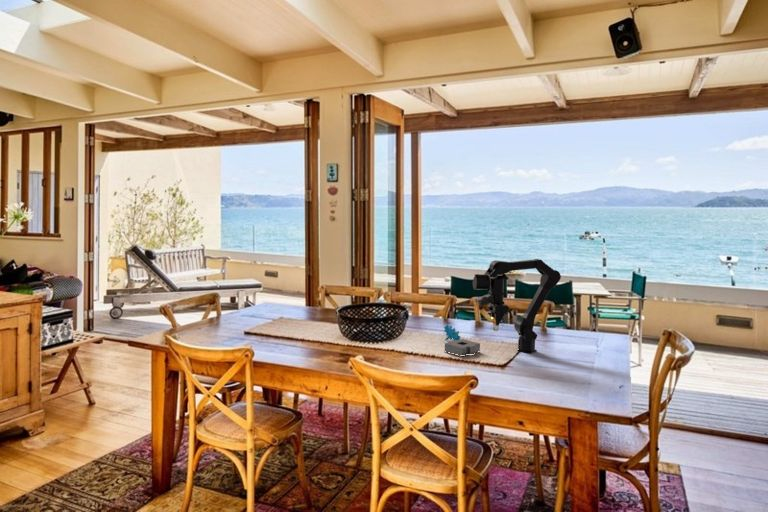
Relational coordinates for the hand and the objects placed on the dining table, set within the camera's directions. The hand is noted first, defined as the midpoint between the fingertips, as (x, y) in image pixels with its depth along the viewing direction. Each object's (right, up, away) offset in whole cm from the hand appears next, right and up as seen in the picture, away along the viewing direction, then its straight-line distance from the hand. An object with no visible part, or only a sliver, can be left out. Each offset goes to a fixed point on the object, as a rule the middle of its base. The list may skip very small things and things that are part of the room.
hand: (495, 324), depth 217 cm
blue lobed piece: (-16, -11, +19) cm, 28 cm away
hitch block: (-15, -12, 0) cm, 19 cm away
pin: (0, -3, 0) cm, 3 cm away
